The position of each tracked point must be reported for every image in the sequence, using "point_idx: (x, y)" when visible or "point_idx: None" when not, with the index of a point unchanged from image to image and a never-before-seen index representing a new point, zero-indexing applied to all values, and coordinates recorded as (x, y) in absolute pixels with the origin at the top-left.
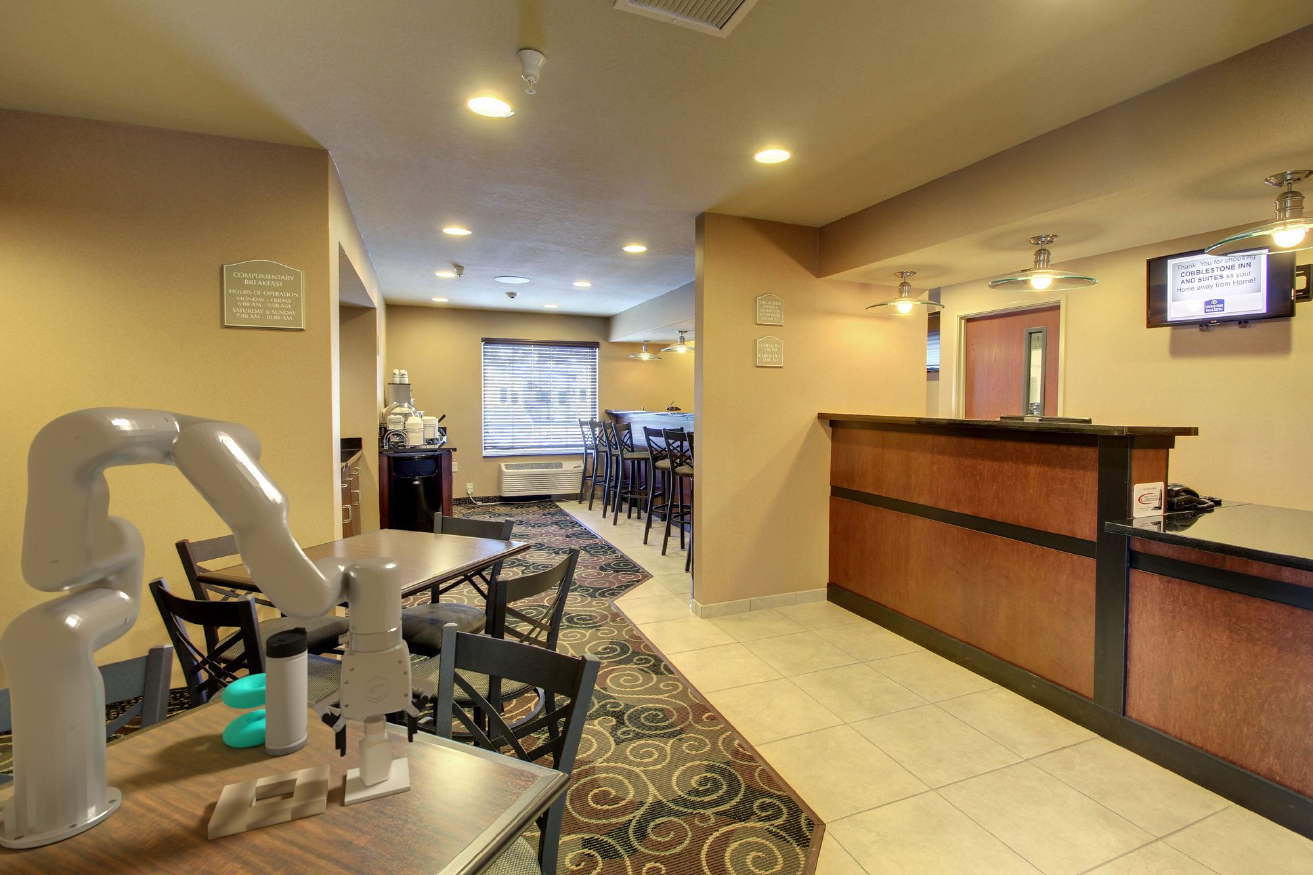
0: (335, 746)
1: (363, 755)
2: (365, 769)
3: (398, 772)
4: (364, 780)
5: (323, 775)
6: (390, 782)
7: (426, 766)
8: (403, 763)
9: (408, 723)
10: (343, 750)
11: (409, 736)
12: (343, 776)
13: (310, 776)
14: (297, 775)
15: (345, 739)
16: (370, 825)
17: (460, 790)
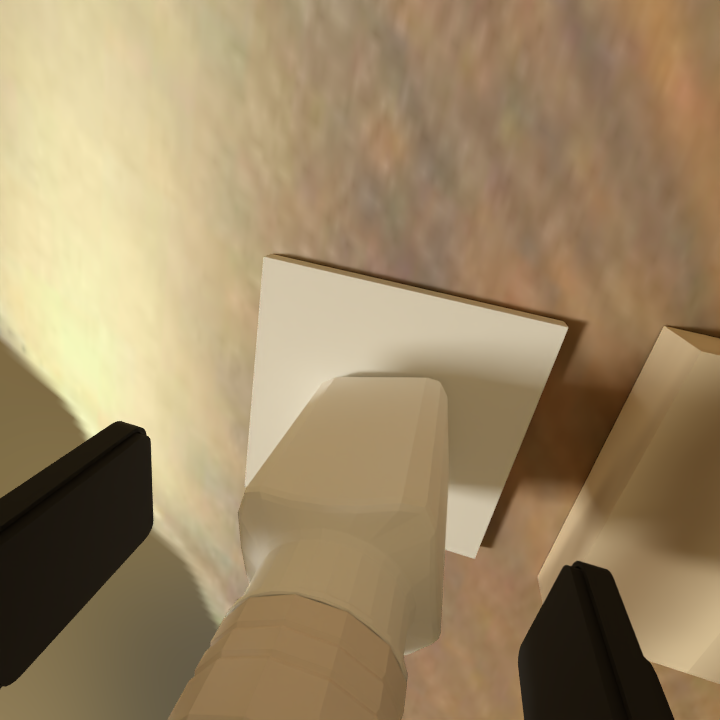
0: (659, 684)
1: (440, 502)
2: (440, 427)
3: (293, 403)
4: (446, 404)
5: (610, 562)
6: (337, 348)
7: (191, 391)
8: (264, 454)
9: (11, 536)
10: (597, 603)
11: (109, 455)
12: (492, 539)
13: (665, 595)
14: (712, 642)
15: (586, 707)
16: (512, 28)
17: (68, 95)
